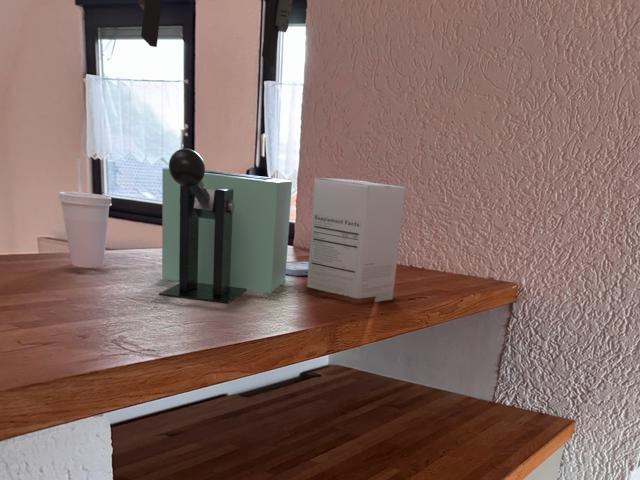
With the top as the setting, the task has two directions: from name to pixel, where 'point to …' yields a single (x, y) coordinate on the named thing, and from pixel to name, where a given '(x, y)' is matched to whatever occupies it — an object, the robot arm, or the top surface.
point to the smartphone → (297, 268)
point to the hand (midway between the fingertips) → (208, 51)
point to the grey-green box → (234, 230)
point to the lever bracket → (189, 251)
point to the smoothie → (85, 224)
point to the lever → (193, 180)
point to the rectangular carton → (355, 238)
